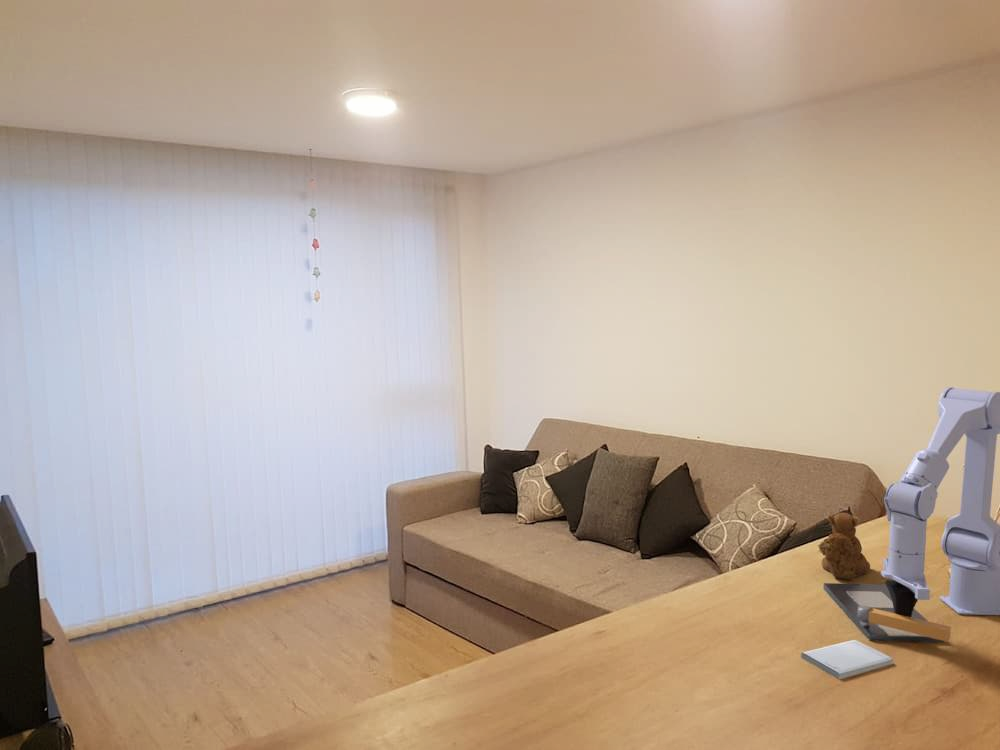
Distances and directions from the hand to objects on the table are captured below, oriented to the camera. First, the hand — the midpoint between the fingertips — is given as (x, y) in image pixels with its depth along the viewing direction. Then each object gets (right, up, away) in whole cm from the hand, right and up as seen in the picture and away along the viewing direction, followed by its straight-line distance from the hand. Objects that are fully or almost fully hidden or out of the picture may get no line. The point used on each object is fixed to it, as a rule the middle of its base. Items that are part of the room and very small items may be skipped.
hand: (902, 621), depth 137 cm
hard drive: (-14, -5, -8) cm, 17 cm away
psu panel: (+1, -2, +11) cm, 11 cm away
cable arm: (-1, -1, -2) cm, 2 cm away
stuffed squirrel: (+3, 0, +32) cm, 32 cm away
